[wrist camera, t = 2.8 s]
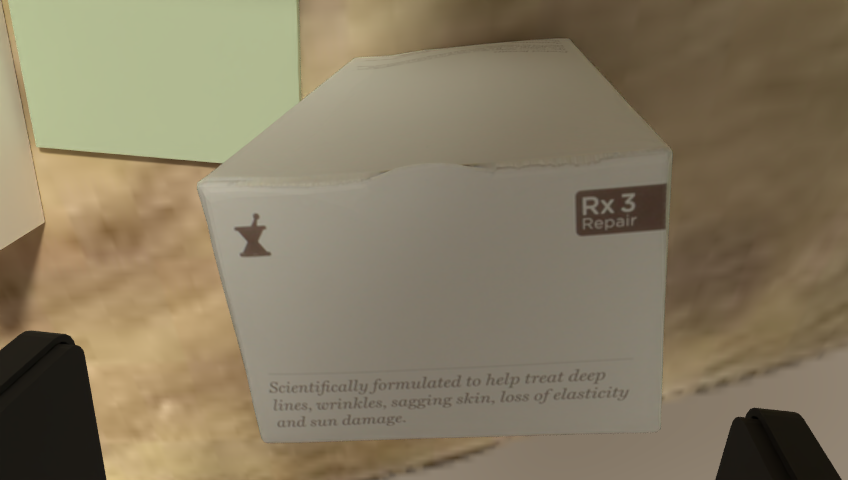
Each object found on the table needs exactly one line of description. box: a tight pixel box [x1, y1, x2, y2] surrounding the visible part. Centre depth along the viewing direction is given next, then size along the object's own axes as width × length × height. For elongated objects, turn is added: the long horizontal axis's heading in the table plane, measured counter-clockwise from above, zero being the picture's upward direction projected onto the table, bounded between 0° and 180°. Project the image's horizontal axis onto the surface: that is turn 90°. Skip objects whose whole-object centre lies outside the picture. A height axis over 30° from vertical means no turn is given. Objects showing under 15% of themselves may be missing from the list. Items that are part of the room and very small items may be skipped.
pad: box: [8, 0, 301, 163], centre depth 26 cm, size 11×9×1 cm
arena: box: [0, 0, 45, 250], centre depth 23 cm, size 15×17×6 cm
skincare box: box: [197, 38, 673, 443], centre depth 19 cm, size 8×6×15 cm
